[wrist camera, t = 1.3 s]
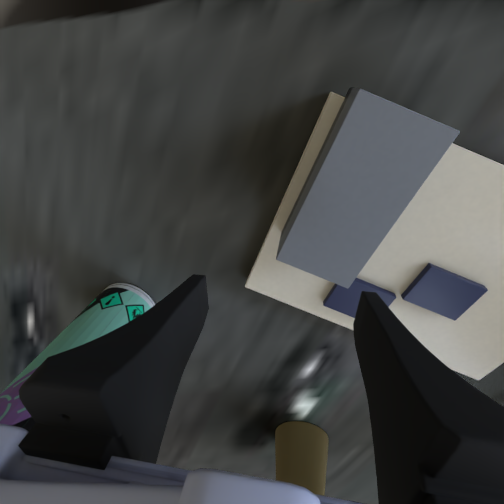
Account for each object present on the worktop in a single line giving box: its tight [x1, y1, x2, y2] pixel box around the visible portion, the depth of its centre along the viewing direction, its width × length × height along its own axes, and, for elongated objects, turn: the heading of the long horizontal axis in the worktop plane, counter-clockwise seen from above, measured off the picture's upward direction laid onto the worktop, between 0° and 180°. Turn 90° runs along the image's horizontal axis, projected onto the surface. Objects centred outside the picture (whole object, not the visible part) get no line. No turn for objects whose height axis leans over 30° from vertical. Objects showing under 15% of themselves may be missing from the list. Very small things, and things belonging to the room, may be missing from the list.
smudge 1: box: [401, 263, 488, 321], centre depth 19 cm, size 4×3×1 cm
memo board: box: [245, 92, 504, 380], centre depth 19 cm, size 20×14×1 cm
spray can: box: [0, 283, 155, 432], centre depth 19 cm, size 6×6×20 cm
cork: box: [275, 421, 329, 496], centre depth 28 cm, size 6×6×11 cm
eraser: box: [276, 88, 460, 289], centre depth 15 cm, size 9×4×4 cm, turn 160°
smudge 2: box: [323, 278, 396, 318], centre depth 21 cm, size 4×3×1 cm
